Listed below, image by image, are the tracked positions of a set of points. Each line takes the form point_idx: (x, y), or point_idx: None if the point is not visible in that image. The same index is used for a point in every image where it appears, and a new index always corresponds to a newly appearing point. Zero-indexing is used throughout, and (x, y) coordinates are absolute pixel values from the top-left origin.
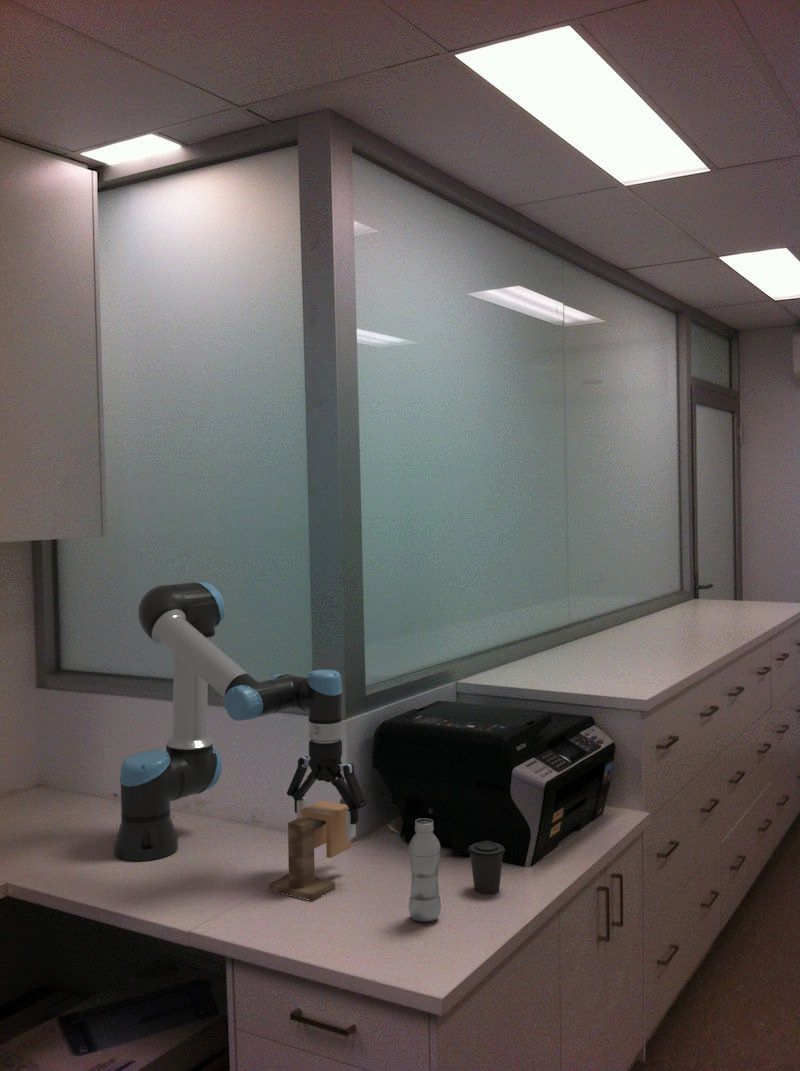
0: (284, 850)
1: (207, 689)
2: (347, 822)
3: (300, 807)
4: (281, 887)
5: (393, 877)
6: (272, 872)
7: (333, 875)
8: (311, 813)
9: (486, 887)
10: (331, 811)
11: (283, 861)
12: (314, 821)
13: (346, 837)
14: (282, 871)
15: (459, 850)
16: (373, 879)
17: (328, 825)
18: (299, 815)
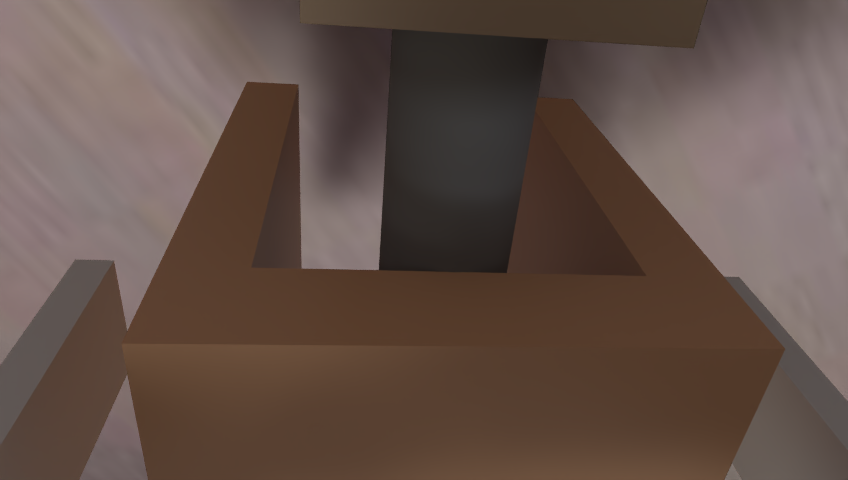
0: (796, 338)
1: None
2: (6, 393)
3: (837, 464)
4: None
5: (31, 293)
6: (756, 39)
7: (362, 169)
8: (560, 325)
9: None
10: (244, 472)
11: (749, 217)
12: (430, 196)
13: (103, 272)
14: (697, 84)
15: None
16: (106, 222)
17: (213, 234)
18: (788, 374)
